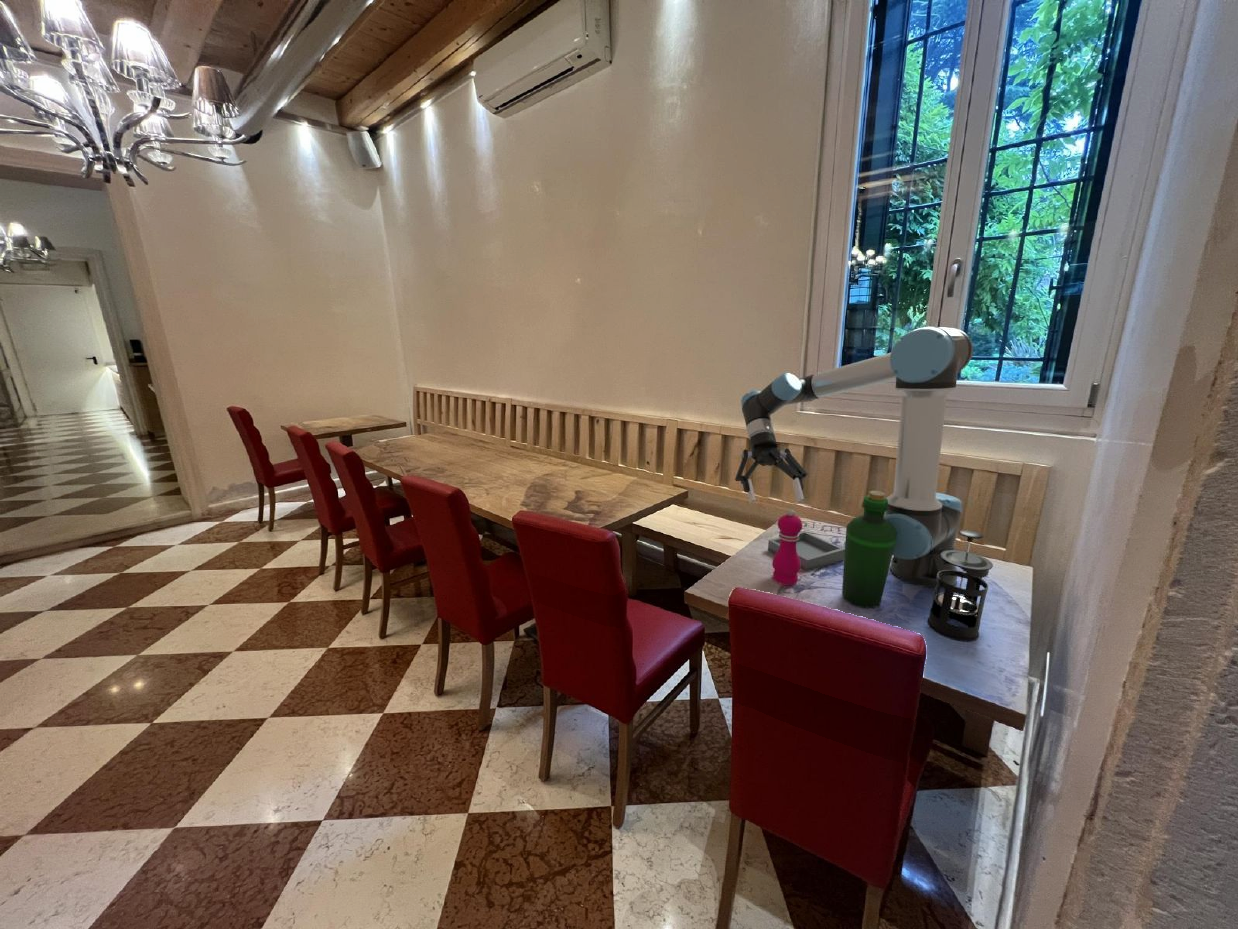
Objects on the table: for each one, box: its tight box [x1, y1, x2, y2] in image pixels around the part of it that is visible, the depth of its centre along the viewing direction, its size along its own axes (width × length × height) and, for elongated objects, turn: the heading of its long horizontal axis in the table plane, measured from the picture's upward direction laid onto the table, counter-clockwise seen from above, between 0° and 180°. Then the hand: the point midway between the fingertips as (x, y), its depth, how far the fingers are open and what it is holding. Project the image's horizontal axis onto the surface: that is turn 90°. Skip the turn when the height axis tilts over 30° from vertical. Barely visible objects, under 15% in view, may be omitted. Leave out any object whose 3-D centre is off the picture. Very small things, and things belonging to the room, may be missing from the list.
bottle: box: [841, 490, 898, 609], centre depth 110 cm, size 11×11×28 cm
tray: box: [767, 530, 845, 572], centre depth 137 cm, size 15×15×4 cm
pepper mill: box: [771, 509, 803, 586], centre depth 121 cm, size 7×7×20 cm
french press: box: [926, 529, 994, 642], centre depth 99 cm, size 12×9×23 cm
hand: (776, 501), depth 128 cm, fingers open, 13 cm apart
